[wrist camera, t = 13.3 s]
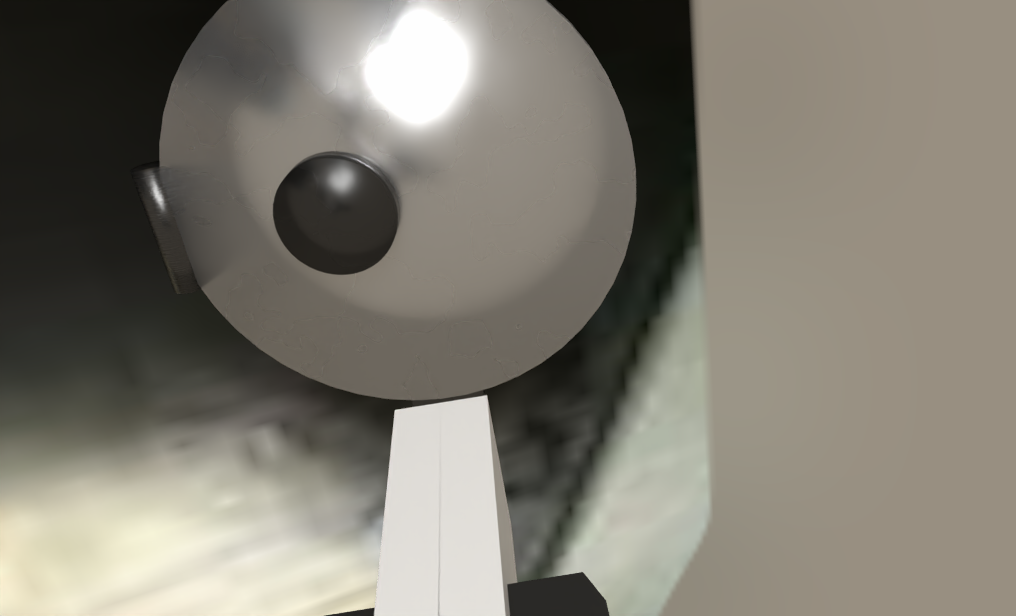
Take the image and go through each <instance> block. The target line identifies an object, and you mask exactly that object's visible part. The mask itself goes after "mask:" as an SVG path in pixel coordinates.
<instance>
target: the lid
mask: <svg viewBox="0 0 1016 616" xmlns="http://www.w3.org/2000/svg"><path fill="white" fill-rule="evenodd" d="M159 148H160V161H156V162H150V163H146V164H143V165H140V166H137V167H135V168H133V169H131V170H130V172H131V175H132V178H133V180H134V183H135V186H136V189H137V191H138V194H139V197H140V199H141V202H142V205H143V208H144V210H145V213H146V216H147V219H148V221H149V224H150V227H151V229H152V232H153V235H154V238H155V240H156V243H157V246H158V249H159V251H160V254H161V257H162V259H163V262H164V265H165V268H166V270H167V273H168V276H169V278H170V281H171V284H172V287H173V289H174V292H175V293H178V294H186V293H191V292H195V291H197V290H200V289H202V290H203V291H204V293H205V294H206V295H207V297H208V298H209V299H210V301H211V302H212V303H213V305H214V306H215V307H216V309H217V310H218V311H219V312H220V313H221V314H222V315H223V316H224V317H225V318H226V319H227V320H228V321H229V322H230V323H231V324H232V325H233V327H234V328H235V329H236V330H238V331H239V332H240V333H241V334H242V335H244V336H245V337H246V338H247V339H248V340H249V341H251V342H252V343H253V344H254V345H255V346H257V347H258V348H259V349H261V350H262V351H264V352H265V353H267V354H268V355H270V356H271V357H273V358H274V359H275V360H277V361H278V362H280V363H281V364H283V365H285V366H287V367H289V368H291V369H293V370H295V371H297V372H299V373H300V374H302V375H304V376H306V377H308V378H311V379H314V380H316V381H319V382H321V383H324V384H326V385H329V386H331V387H334V388H338V389H342V390H345V391H349V392H352V393H356V394H360V395H366V396H372V397H378V398H384V399H398V400H429V399H443V398H449V397H455V396H461V395H466V394H470V393H474V392H477V391H481V390H484V389H488V388H491V387H494V386H497V385H499V384H501V383H504V382H506V381H508V380H511V379H513V378H515V377H518V376H520V375H521V374H523V373H525V372H527V371H528V370H530V369H532V368H534V367H535V366H537V365H539V364H541V363H542V362H543V361H545V360H546V359H547V358H549V357H550V356H551V355H553V354H554V353H555V352H557V351H558V350H559V349H561V348H562V347H563V346H564V345H565V344H566V343H567V342H568V341H570V340H571V339H572V338H573V337H574V336H575V335H576V334H577V333H578V332H579V331H580V330H581V329H582V328H583V327H584V325H585V324H586V323H587V322H588V320H589V319H590V318H591V317H592V315H593V314H594V313H595V312H596V310H597V309H598V308H599V306H600V305H601V303H602V301H603V300H604V298H605V296H606V295H607V293H608V291H609V290H610V288H611V286H612V285H613V283H614V281H615V278H616V276H617V274H618V271H619V269H620V267H621V264H622V262H623V260H624V257H625V254H626V250H627V247H628V243H629V239H630V236H631V232H632V227H633V219H634V212H635V205H636V168H635V161H634V154H633V147H632V140H631V137H630V133H629V130H628V126H627V123H626V119H625V116H624V112H623V109H622V107H621V105H620V102H619V100H618V98H617V96H616V93H615V91H614V89H613V86H612V84H611V82H610V80H609V78H608V76H607V74H606V72H605V70H604V69H603V67H602V65H601V64H600V62H599V61H598V59H597V57H596V56H595V54H594V52H593V51H592V49H591V48H590V46H589V45H588V44H587V42H586V41H585V40H584V39H583V37H582V36H581V35H580V34H579V33H578V31H577V30H576V29H575V28H574V26H573V25H572V24H571V23H570V21H569V20H568V19H567V18H565V17H564V16H563V15H562V14H561V13H560V12H559V11H558V10H557V9H556V8H555V7H554V6H553V5H552V4H550V3H549V2H548V1H547V0H228V1H227V2H226V3H225V4H224V5H223V6H222V7H221V8H220V9H219V10H218V11H217V12H216V14H215V15H214V16H213V17H212V18H211V19H210V20H209V21H208V22H207V24H206V25H205V26H204V27H203V28H202V29H201V31H200V32H199V34H198V36H197V37H196V39H195V40H194V42H193V43H192V45H191V46H190V48H189V49H188V51H187V52H186V54H185V56H184V58H183V60H182V62H181V64H180V67H179V69H178V71H177V73H176V76H175V78H174V80H173V82H172V85H171V88H170V92H169V95H168V99H167V102H166V106H165V110H164V113H163V120H162V128H161V136H160V143H159Z"/></svg>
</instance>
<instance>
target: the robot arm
mask: <svg viewBox="0 0 1016 616" xmlns="http://www.w3.org/2000/svg"><path fill="white" fill-rule="evenodd" d="M326 616H609V612H608V608H607V603H606V600H605V599H604V598H603V596H602V595H601V594H600V593H599V592H598V590H597V589H596V588H595V587H594V585H593V584H592V583H591V582H590V580H589V579H588V578H587V577H586V575H585V574H584V573H583V572H581V573H575V574H569V575H562V576H556V577H550V578H543V579H537V580H531V581H525V582H518V583H517V576H516V567H515V557H514V548H513V538H512V529H511V521H510V516H509V511H508V505H507V500H506V495H505V489H504V484H503V478H502V473H501V468H500V462H499V457H498V451H497V446H496V441H495V435H494V430H493V424H492V419H491V414H490V408H489V403H488V398H487V395H486V396H480V397H473V398H467V399H461V400H455V401H448V402H442V403H436V404H430V405H423V406H417V407H411V408H405V409H398V410H395V414H394V423H393V433H392V443H391V453H390V463H389V473H388V483H387V492H386V502H385V512H384V522H383V532H382V542H381V551H380V561H379V571H378V581H377V591H376V601H375V608H370V609H364V610H357V611H351V612H345V613H338V614H332V615H326Z"/></svg>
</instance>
